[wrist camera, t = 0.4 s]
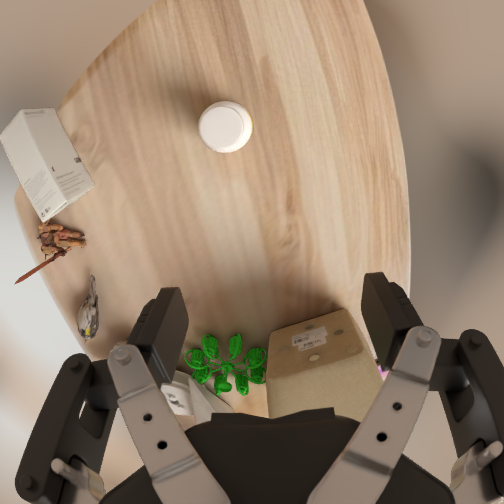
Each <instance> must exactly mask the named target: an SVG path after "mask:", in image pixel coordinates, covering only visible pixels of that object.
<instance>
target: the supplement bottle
mask: <svg viewBox="0 0 504 504" xmlns="http://www.w3.org/2000/svg"><path fill="white" fill-rule="evenodd" d="M253 127H254V124H253V119H252V117H251V115H250V113H249V112H248V111H247V110H246V109H245V108H244V107H242V106H241V105H239V104H237V103H235V102H230V101H221V102H217V103H214V104H212V105H210V106H209V107H208V108H207V109H206V110H205V111H204V112H203V113H202V115H201V117H200V119H199V123H198V132H199V135H200V138H201V140H202V141H203V143H204V144H205V145H206V146H207V147H208V148H210V149H212V150H214V151H216V152H221V153H228V152H233V151H236V150H238V149H239V148H241V147H242V146H243V145H245V144H246V142H247V141H248V140H249V138H250V137H251V135H252V132H253Z"/></svg>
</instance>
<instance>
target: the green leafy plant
mask: <svg viewBox="0 0 504 504" xmlns="http://www.w3.org/2000/svg"><path fill="white" fill-rule="evenodd" d="M206 336H207V337H208V338H207V339H206V340H205V338H206ZM242 343H243V341H242V339H241V335H240V334H237V335H236V336H234V337H232V338H231V339H230V341H229V352H230V354H231V357H230V359H229V362H223V360H222V359H221V358H220V357H219V356H218V355H219V351H218V346H217V345H218V341H217V339H216V338H214V337H212V336H211V335H209V334H207V335H204V336H203V338H202V346H203V349H204V352H203V351H201V350H198V349H192V350H189V351H187V352H186V354H185V362H186V364H187V365H188V366H190V367H191V368H194V369H196V370H195V371H194V372H193V374H192V376H191V378H192V379H194V375H195V377H196V378H195V379H196V381H198V383H199V384H202V383H204V382H206V381H207V380H208V379H209V378H210V377H211V375H212V372H215V371H218V370H223V371H225V372H224V374H221V375H220V376H217V377H216V378H215V382H214V390H215V391H216V395H218V396H219V395H220V393H221V392H229V391H231V389H232V385H231V384H230V383H228V382H227V373H228V372H231V373H232V374H233V376H234V377H235V383H236V388H237V391H239V392H240V394H241V395H247V394H248V392H249V387H248V380H249V381H251V382H253V383H255V384H263V383H265V382H266V380H265V381H262V382H260V381H261V380H262V378H263V370H264V372H265V373H266V372H267V370H266V369H265V368H264V367H262V366H261V365H262V364H263V363H264V362H265V361H266V359H267V352H266V351H265V350H264V349H263V348H253V349H251V350H250V351H249V352H248V353H247V354H246V355H245V357H244V359H243V362H240V363H236V364H232V363H231V362H230V361H231V359H235V357H236V356H237V355H239V354H240V353H241V351H242ZM260 350H261V351H264V352H265V356H264V358H263V360H262V361H261V351H260ZM190 352H192V355H191V359H190V361H191V362H190V363H189V362H188V361H187V359H186V355H187V354H188V353H190ZM215 352H216V355H215V357H212V356H213V355H214V354H215ZM204 356H205V357H206V358H207V360H208V363H207V364H206V365H201V364H202V363H203V359H204ZM248 356H249V358H248V360H249V364H250V365H249V366H247V365H246V364H245V362H246V359H247V357H248ZM217 357H218V358H219V359H220V360H221V361H222V364H221V365H220V364H216V363H212V362H209V358H210V359H212V360H213V359H216V358H217ZM209 363H210V364H214V365H218V366H221V367H222V368H220V369H217V370H213V371H212V369H211V368H210V366H208V364H209ZM241 363H243V364H244V365H245V366H246V367H247V368H246V370H245V371H244V370H240V369H236V368H234V366H235V365H238V364H241ZM207 367H208V368H210V372H209V375H208V368H207ZM248 368H249V369H251V378H250V377H249V376H248V374H247V369H248ZM232 369H234V370H238V371H243V372H245V376H244V375H243V374H237V375H236V376H235V375H234V373H233V372H232ZM224 375H225V377H224ZM239 375H240V376H239ZM244 392H246V393H245V394H244Z"/></svg>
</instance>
